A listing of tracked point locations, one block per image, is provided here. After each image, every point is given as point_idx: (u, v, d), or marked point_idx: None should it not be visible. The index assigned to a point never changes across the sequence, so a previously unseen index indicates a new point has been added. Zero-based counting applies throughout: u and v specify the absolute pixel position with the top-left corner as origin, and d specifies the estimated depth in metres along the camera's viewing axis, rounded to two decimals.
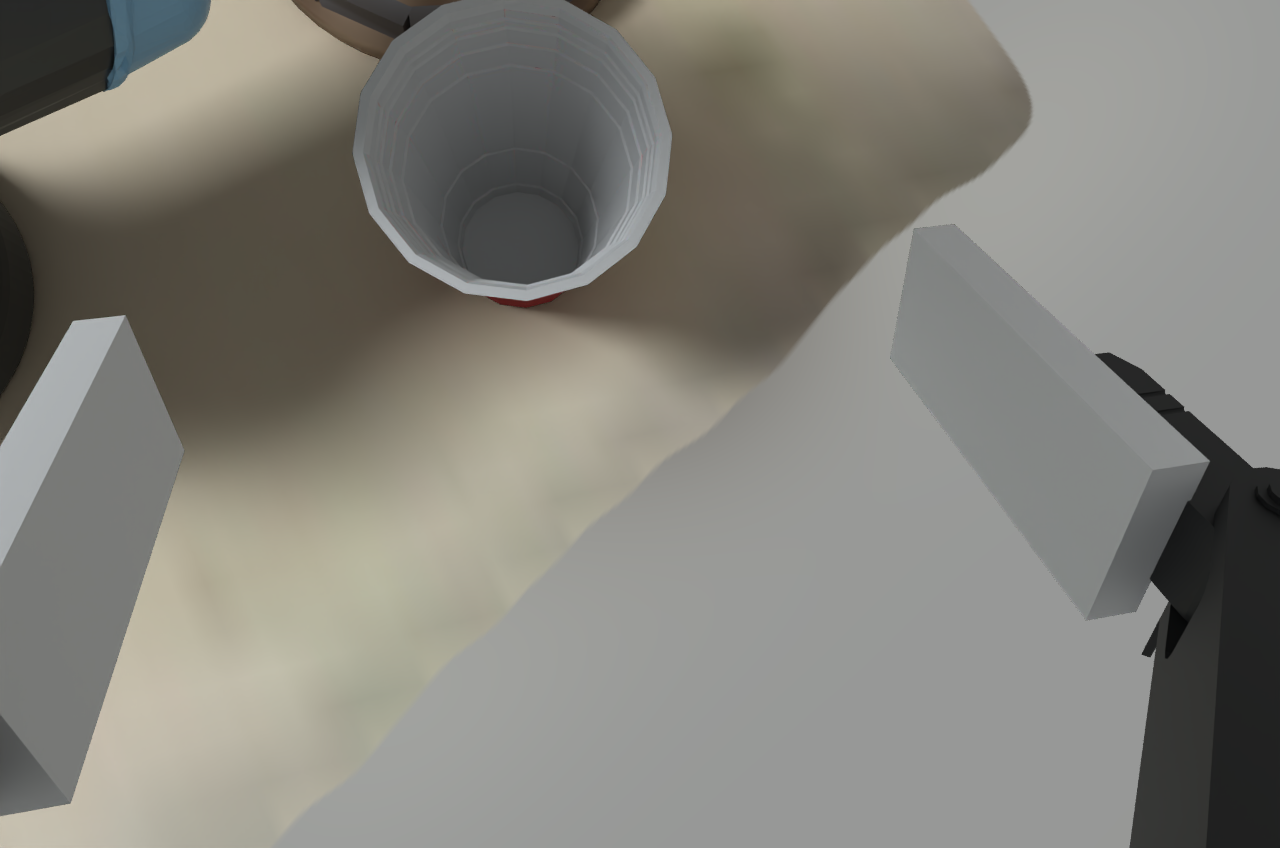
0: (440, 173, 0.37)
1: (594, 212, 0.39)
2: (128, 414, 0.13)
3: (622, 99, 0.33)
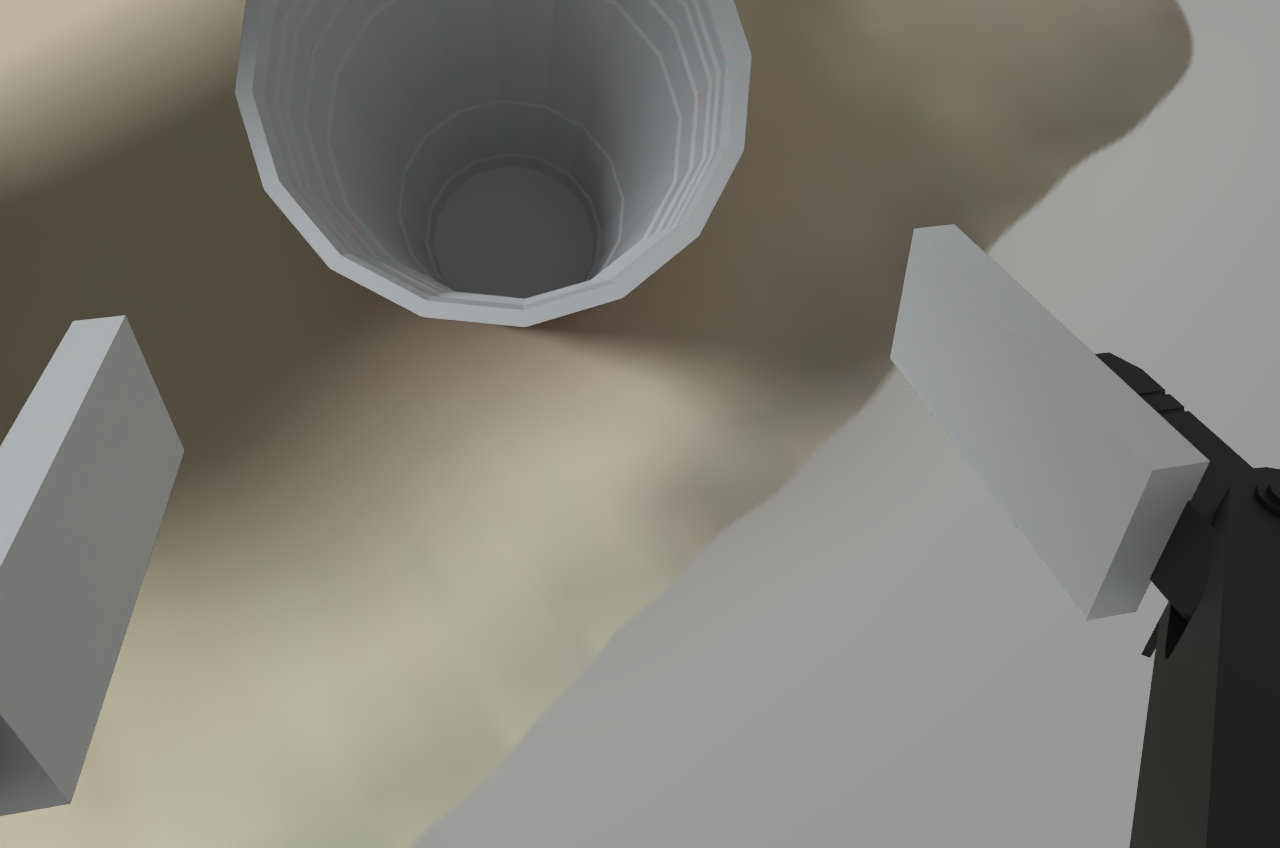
0: (394, 136, 0.25)
1: (617, 189, 0.27)
2: (129, 414, 0.13)
3: (666, 8, 0.21)
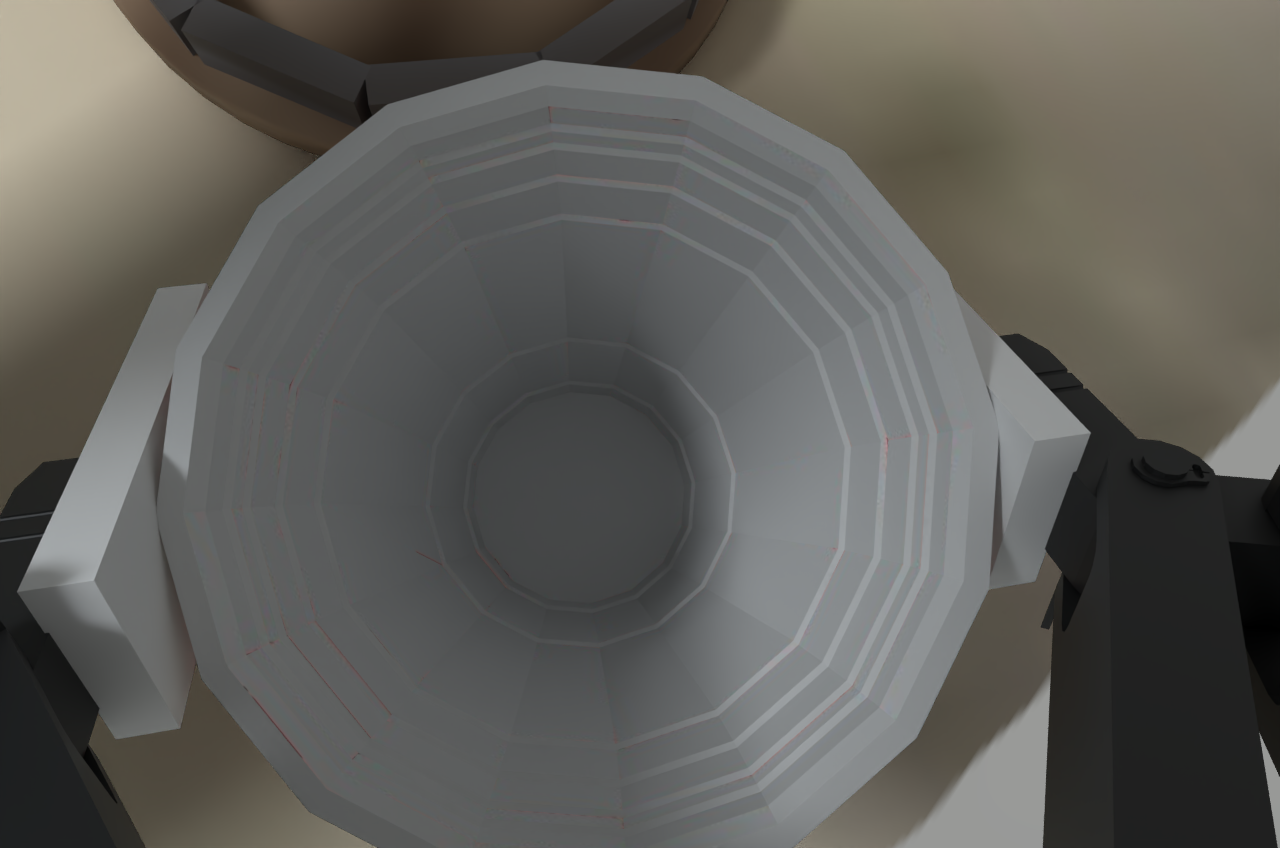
0: (419, 417, 0.18)
1: (725, 459, 0.20)
2: None
3: (838, 304, 0.13)
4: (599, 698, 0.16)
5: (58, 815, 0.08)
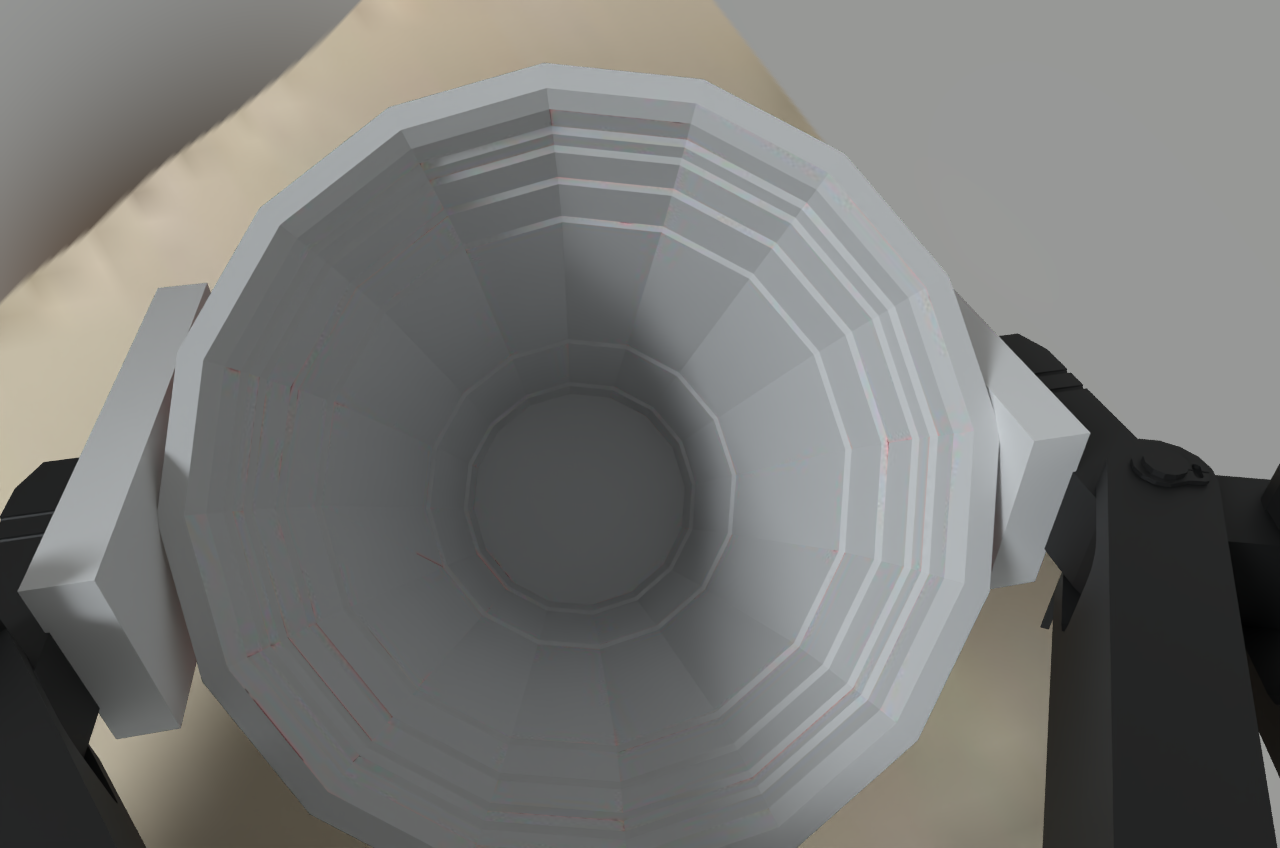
0: (420, 419, 0.18)
1: (725, 460, 0.20)
2: None
3: (838, 307, 0.13)
4: (600, 700, 0.16)
5: (59, 814, 0.08)
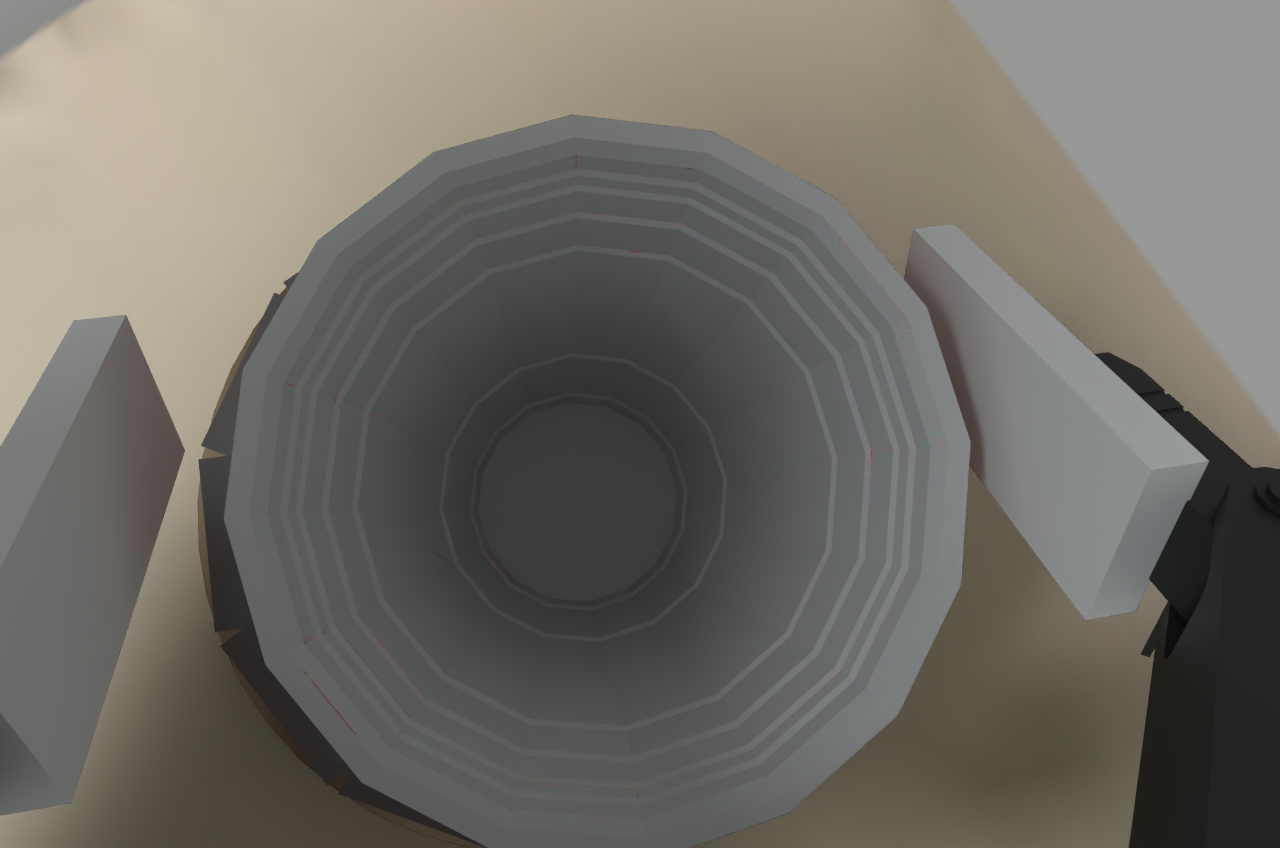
0: (437, 427, 0.19)
1: (717, 466, 0.21)
2: (129, 414, 0.13)
3: (828, 331, 0.15)
4: (606, 686, 0.17)
5: None
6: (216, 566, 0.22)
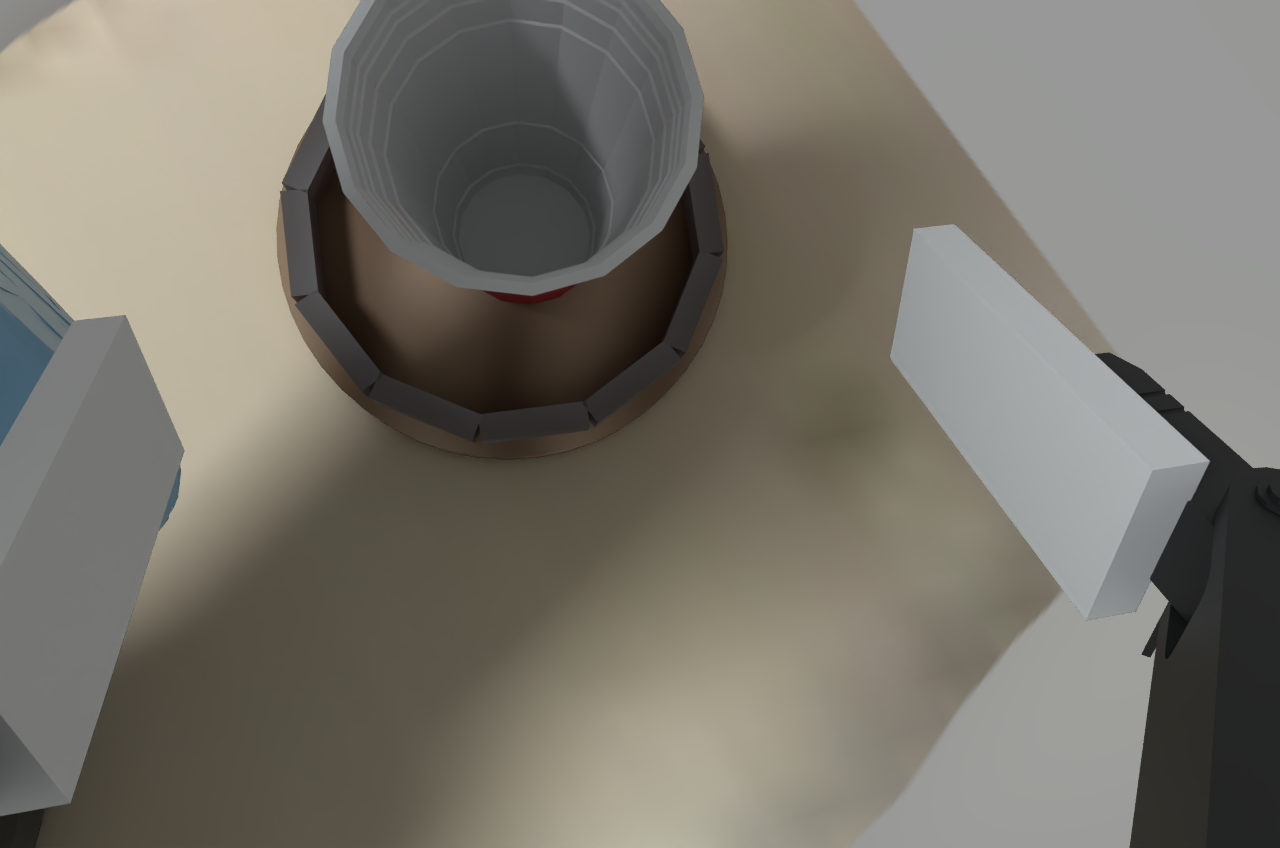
0: (431, 150, 0.32)
1: (608, 194, 0.34)
2: (128, 414, 0.13)
3: (643, 57, 0.28)
4: None
5: None
6: (291, 256, 0.34)
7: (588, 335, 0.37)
